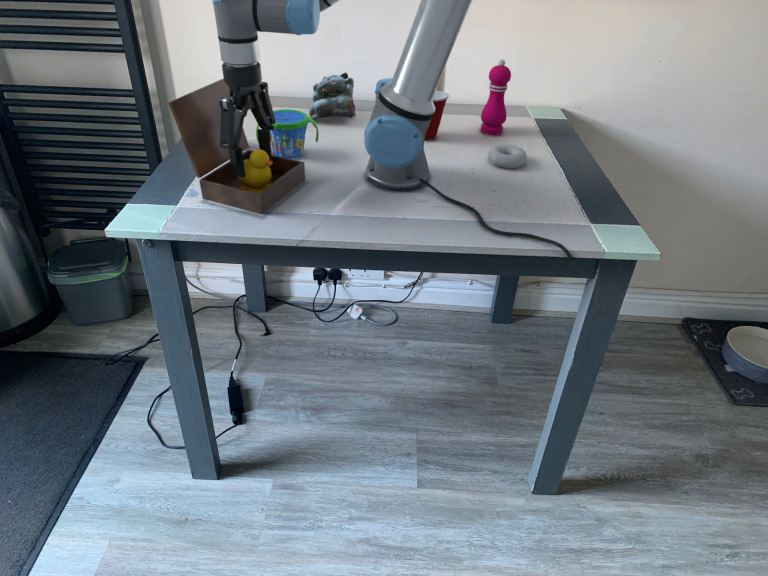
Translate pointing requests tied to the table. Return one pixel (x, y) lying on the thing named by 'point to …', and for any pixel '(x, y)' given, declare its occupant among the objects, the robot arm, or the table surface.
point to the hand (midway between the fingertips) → (253, 166)
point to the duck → (256, 172)
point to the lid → (203, 126)
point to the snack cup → (289, 132)
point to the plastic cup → (436, 114)
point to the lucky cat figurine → (333, 97)
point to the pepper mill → (496, 100)
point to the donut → (507, 156)
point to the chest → (227, 191)
